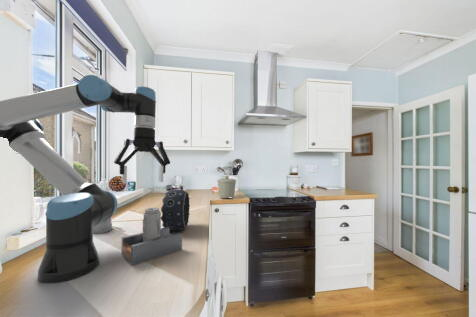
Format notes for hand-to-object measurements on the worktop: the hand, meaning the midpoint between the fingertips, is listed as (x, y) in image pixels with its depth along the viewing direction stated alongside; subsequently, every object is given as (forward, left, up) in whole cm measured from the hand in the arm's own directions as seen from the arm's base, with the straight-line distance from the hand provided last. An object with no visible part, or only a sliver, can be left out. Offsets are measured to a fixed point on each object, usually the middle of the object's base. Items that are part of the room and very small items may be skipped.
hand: (143, 182), depth 83 cm
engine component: (-6, +41, -26) cm, 49 cm away
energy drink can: (+2, -4, -25) cm, 25 cm away
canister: (+100, +66, -26) cm, 122 cm away
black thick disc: (+21, +14, -26) cm, 37 cm away
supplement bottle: (+7, +11, -26) cm, 29 cm away
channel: (+2, -4, -26) cm, 26 cm away
